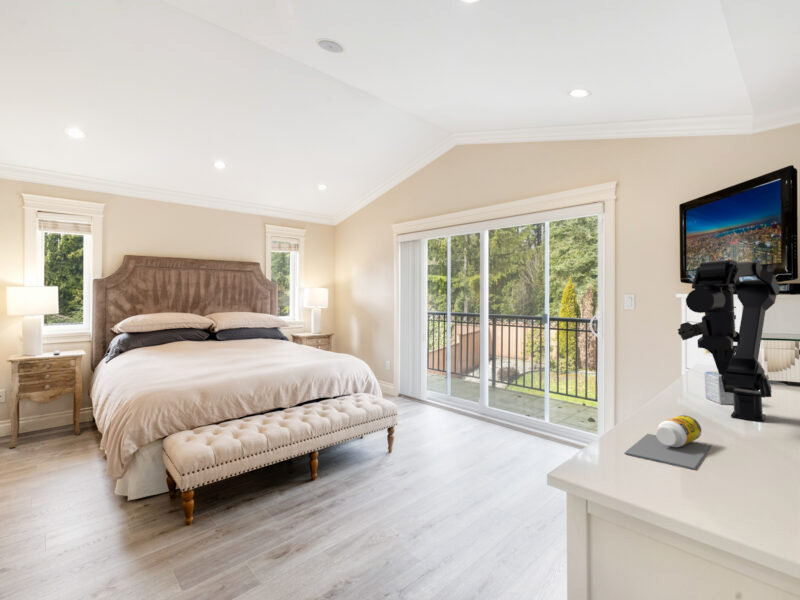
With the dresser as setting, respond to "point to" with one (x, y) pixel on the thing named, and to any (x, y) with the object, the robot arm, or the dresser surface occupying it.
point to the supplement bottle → (678, 431)
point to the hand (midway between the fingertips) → (722, 374)
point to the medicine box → (716, 389)
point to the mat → (669, 452)
